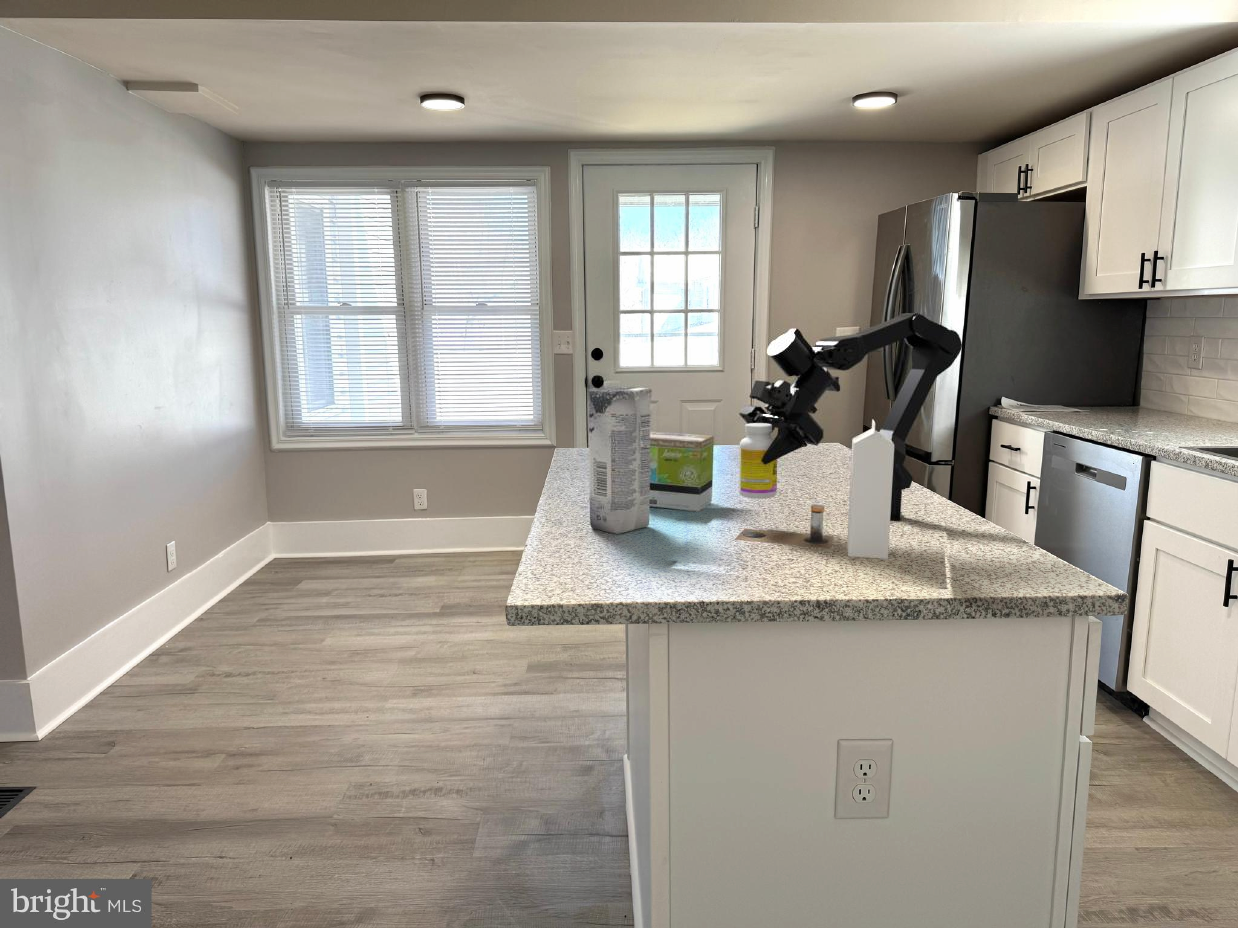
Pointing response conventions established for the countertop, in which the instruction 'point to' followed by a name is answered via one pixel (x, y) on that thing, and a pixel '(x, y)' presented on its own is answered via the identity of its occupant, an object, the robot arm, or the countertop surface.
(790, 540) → the plate
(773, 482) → the supplement bottle
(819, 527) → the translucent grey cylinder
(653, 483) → the tea box
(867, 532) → the milk
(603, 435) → the juice carton
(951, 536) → the countertop surface
